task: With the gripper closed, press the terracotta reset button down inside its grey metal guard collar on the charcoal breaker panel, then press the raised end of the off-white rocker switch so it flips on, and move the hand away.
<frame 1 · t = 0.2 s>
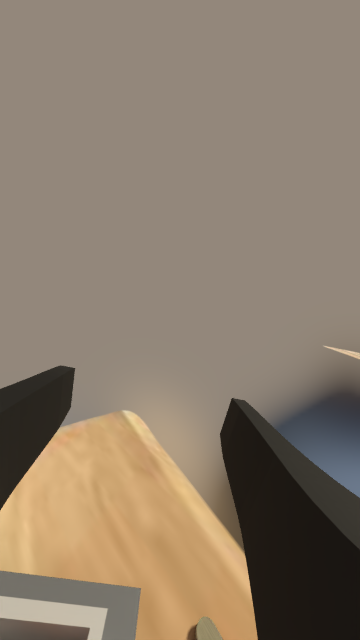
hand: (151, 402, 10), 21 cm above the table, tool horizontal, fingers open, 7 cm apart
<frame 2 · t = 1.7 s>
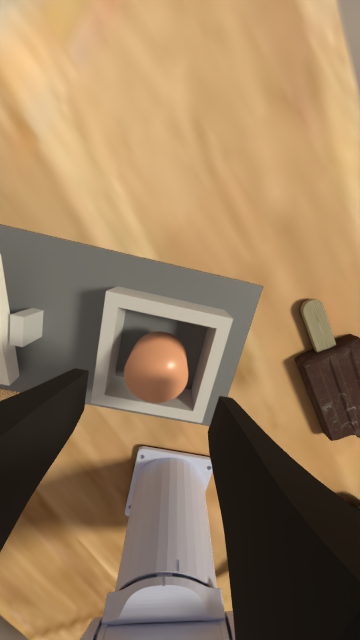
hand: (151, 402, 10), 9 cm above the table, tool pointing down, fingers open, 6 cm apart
breaker panel: (94, 320, 18), on the table
reset button: (157, 365, 13), point 6 cm above the table, slide at 0.0 cm
ice cream bar: (326, 367, 20), on the table
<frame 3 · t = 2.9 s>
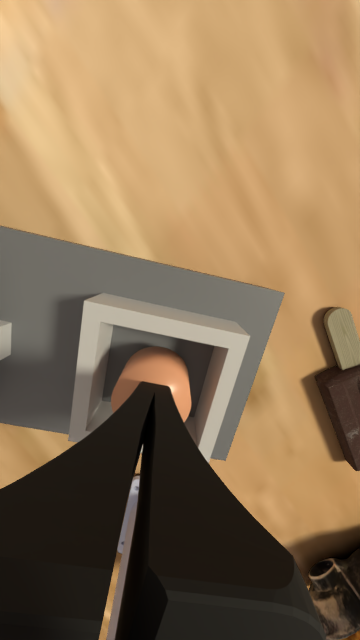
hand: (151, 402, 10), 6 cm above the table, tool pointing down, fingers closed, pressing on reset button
breaker panel: (79, 331, 15), on the table
reset button: (154, 388, 11), point 5 cm above the table, slide at 0.6 cm, touching gripper
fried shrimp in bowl: (322, 565, 23), on the table
ice cream bar: (350, 385, 18), on the table
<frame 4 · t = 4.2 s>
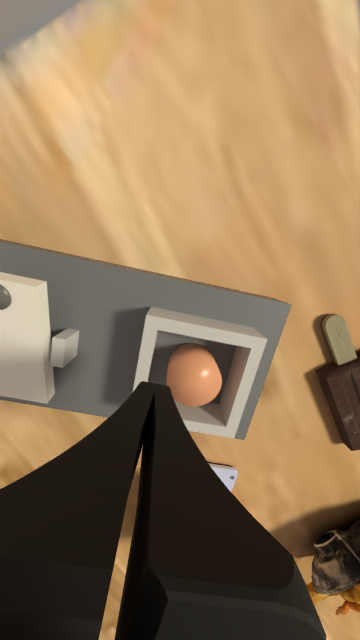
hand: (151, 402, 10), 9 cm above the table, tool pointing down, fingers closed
breaker panel: (122, 336, 19), on the table
rocker switch: (11, 343, 14), point 5 cm above the table, hinge at -12.0°
reset button: (192, 373, 15), point 4 cm above the table, slide at 1.4 cm
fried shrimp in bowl: (326, 537, 26), on the table
ice cream bar: (345, 378, 21), on the table
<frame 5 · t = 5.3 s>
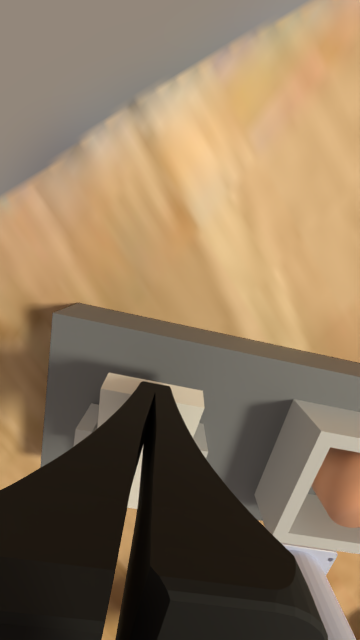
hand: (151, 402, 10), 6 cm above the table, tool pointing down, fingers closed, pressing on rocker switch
breaker panel: (228, 412, 16), on the table
rocker switch: (140, 454, 11), point 5 cm above the table, hinge at -11.0°, touching gripper
reset button: (344, 481, 12), point 4 cm above the table, slide at 1.4 cm
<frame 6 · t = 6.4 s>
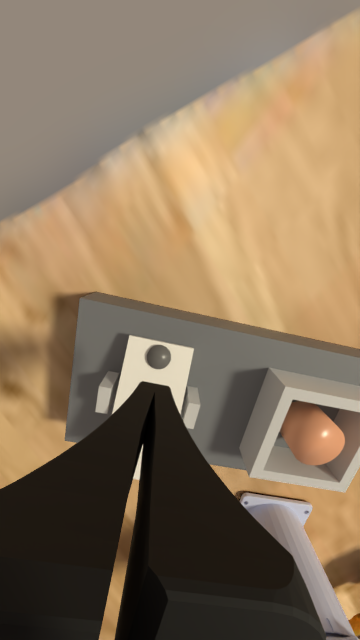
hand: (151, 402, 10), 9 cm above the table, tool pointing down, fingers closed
breaker panel: (219, 383, 20), on the table
rocker switch: (148, 406, 14), point 5 cm above the table, hinge at 17.6°, touching breaker panel
reset button: (308, 431, 16), point 4 cm above the table, slide at 1.4 cm
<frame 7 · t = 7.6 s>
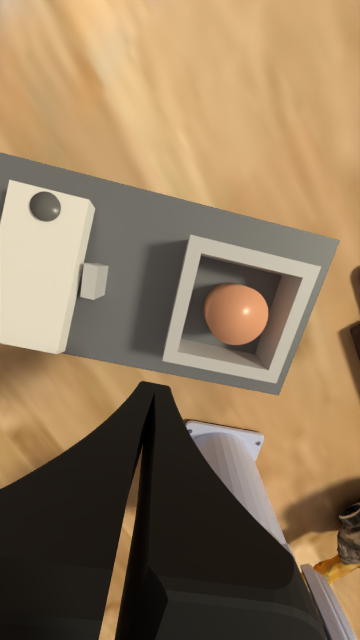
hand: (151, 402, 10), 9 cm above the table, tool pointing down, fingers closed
breaker panel: (149, 284, 17), on the table
rocker switch: (37, 269, 12), point 5 cm above the table, hinge at 14.1°
reset button: (232, 312, 14), point 4 cm above the table, slide at 1.4 cm
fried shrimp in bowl: (350, 511, 25), on the table
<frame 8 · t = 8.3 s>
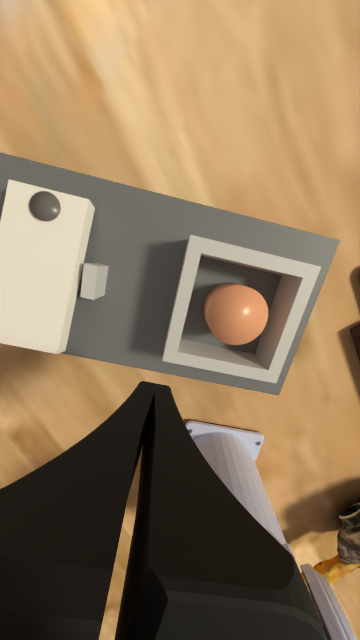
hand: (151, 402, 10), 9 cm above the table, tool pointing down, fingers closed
breaker panel: (149, 284, 17), on the table
rocker switch: (37, 270, 12), point 5 cm above the table, hinge at 13.5°
reset button: (232, 312, 14), point 4 cm above the table, slide at 1.4 cm
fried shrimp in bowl: (350, 511, 25), on the table
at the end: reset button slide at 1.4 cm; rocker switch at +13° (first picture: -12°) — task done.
